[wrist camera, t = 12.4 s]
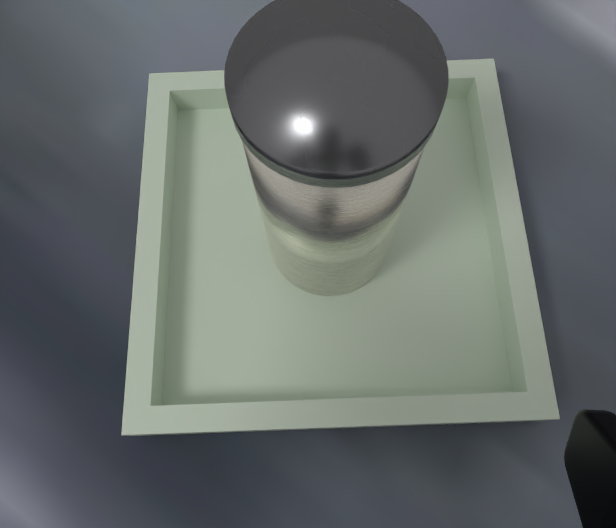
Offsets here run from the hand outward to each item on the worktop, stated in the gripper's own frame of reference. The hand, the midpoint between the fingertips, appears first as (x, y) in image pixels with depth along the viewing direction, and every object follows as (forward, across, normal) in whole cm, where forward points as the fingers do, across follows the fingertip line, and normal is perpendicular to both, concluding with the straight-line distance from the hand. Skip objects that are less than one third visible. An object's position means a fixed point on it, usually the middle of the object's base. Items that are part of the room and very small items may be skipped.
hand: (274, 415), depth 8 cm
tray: (+16, -1, +4) cm, 16 cm away
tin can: (+15, -1, +3) cm, 15 cm away
